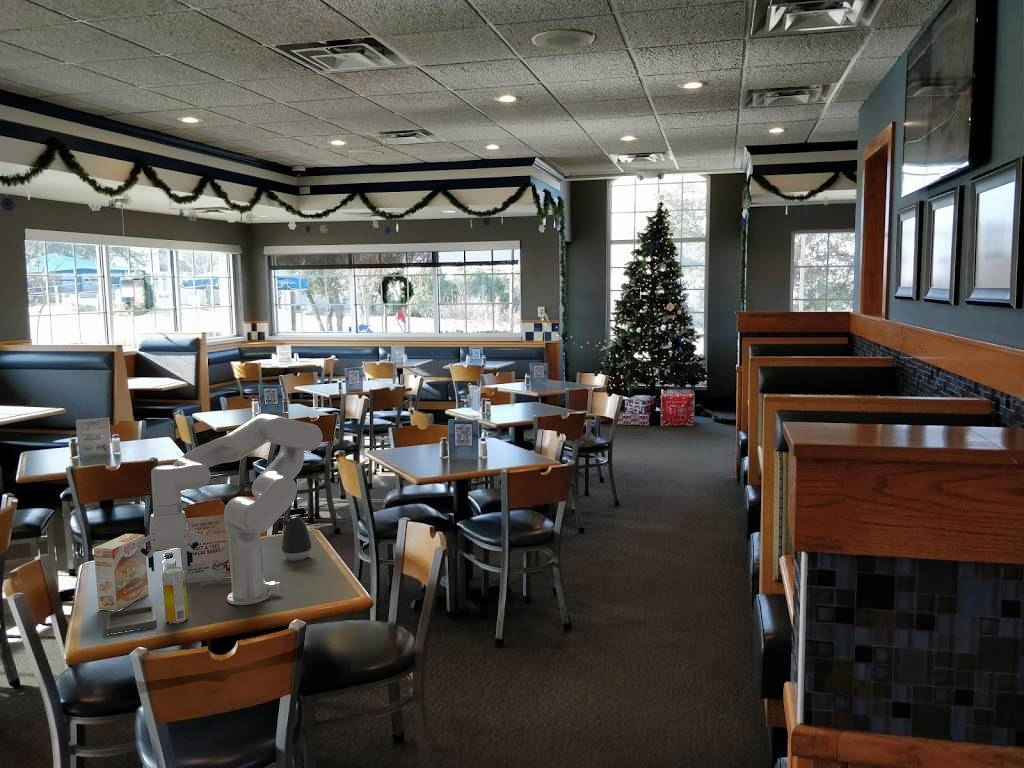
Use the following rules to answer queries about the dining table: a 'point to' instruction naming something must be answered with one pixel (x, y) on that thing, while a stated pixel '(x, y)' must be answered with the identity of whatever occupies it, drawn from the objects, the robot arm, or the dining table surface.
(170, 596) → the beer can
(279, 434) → the robot arm
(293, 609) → the dining table surface
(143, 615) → the tray
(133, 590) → the coffeecake box
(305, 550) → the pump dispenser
